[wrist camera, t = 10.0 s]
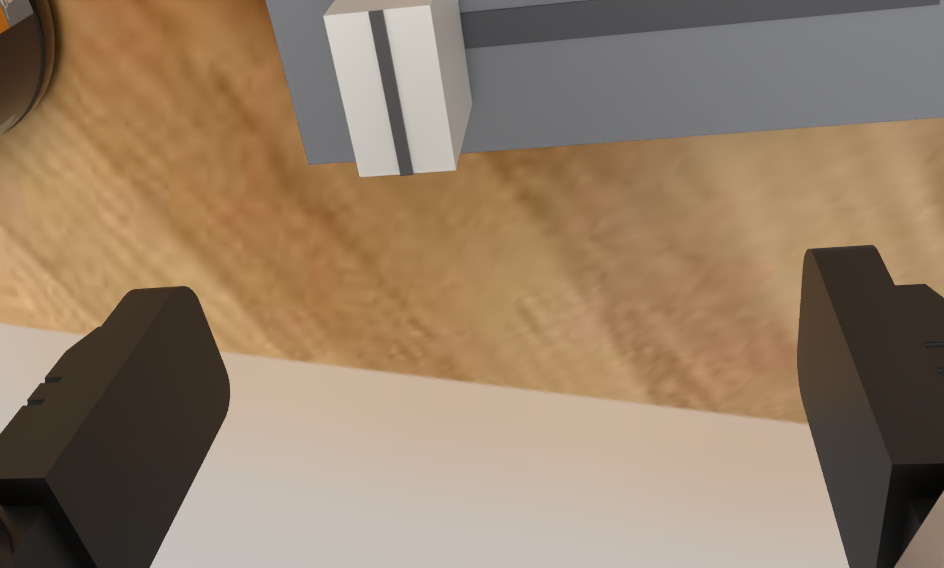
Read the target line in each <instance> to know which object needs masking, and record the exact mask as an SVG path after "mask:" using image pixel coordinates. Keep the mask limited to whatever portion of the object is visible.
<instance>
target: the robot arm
mask: <svg viewBox="0 0 944 568" xmlns="http://www.w3.org/2000/svg"><path fill="white" fill-rule="evenodd" d="M797 366H798V379H799V387H800V393H801V398H802V402H803V405H804V409H805V412H806V416H807V419H808V423H809V426H810V430H811V433H812V437H813V440H814V444H815V447H816V451H817V455H818V458H819V461H820V465H821V469H822V472H823V476H824V479H825V483H826V486H827V490H828V493H829V497H830V500H831V504H832V507H833V511H834V514H835V518H836V522H837V525H838V529H839V532H840V536H841V539H842V543H843V546H844V550H845V553H846V556H847V560H848V564H849V567H850V568H944V298H943V297H942V296H941V295H939V294H938V293H936V292H935V291H934V290H932V289H931V288H930V287H928V286H927V285H926V284H915V285H897V286H895V284H894V282H893V280H892V278H891V276H890V274H889V272H888V270H887V268H886V266H885V264H884V262H883V260H882V258H881V256H880V254H879V252H878V250H877V248H876V247H875V246H873V245H865V246H848V247H832V248H816V249H808V250H807V251H806V253H805V257H804V262H803V274H802V289H801V303H800V318H799V332H798V347H797ZM229 400H230V384H229V378H228V374H227V371H226V368H225V366H224V363H223V360H222V358H221V355H220V353H219V350H218V348H217V345H216V343H215V340H214V337H213V335H212V332H211V330H210V327H209V325H208V322H207V320H206V317H205V315H204V312H203V309H202V307H201V304H200V302H199V300H198V298H197V296H196V294H195V293H194V292H193V291H192V290H191V289H190V288H189V287H186V286H178V287H162V288H146V289H134V290H131V291H129V292H128V293H127V294H126V295H125V296H124V297H123V299H122V300H121V301H120V303H119V304H118V305H117V307H116V308H115V309H114V310H113V312H112V313H111V314H110V316H109V317H108V318H107V320H106V321H105V322H104V323H103V325H102V326H101V327H97V328H96V329H95V330H93V331H92V332H91V333H89V334H88V335H87V336H85V337H84V338H83V339H81V340H80V341H79V342H77V343H76V344H75V345H74V346H72V347H71V348H70V349H68V350H67V351H66V352H65V353H64V354H63V355H62V357H61V358H60V359H59V361H58V362H57V363H56V364H55V366H54V367H53V368H52V369H51V371H50V372H49V373H48V375H47V376H46V377H45V383H40V384H39V386H38V387H37V389H36V390H35V391H34V392H33V393H32V395H31V396H30V397H29V398H28V400H27V401H28V404H27V406H22V407H21V409H20V410H19V411H18V412H17V413H16V415H15V416H14V417H13V419H12V420H11V421H10V422H9V424H8V425H7V426H6V427H5V429H4V430H3V431H2V433H1V434H0V568H150V566H151V564H152V562H153V560H154V558H155V556H156V554H157V552H158V550H159V548H160V546H161V544H162V542H163V540H164V538H165V536H166V534H167V532H168V530H169V528H170V526H171V524H172V522H173V520H174V518H175V516H176V514H177V512H178V510H179V508H180V506H181V504H182V502H183V500H184V498H185V496H186V494H187V492H188V490H189V488H190V487H191V484H192V482H193V481H194V479H195V477H196V475H197V473H198V470H199V469H200V467H201V465H202V463H203V461H204V459H205V457H206V455H207V453H208V451H209V449H210V447H211V445H212V443H213V441H214V439H215V437H216V435H217V433H218V431H219V429H220V427H221V425H222V423H223V421H224V419H225V417H226V414H227V411H228V407H229Z"/></svg>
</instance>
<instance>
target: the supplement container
mask: <svg viewBox="0 0 944 568" xmlns="http://www.w3.org/2000/svg"><path fill="white" fill-rule="evenodd" d="M54 57H55V34H54V25H53V20H52V14H51V11H50V7H49V4H48V0H0V135H2V134H5V133H6V132H8V131H9V130H11V129H12V128H14V127H15V126H17V125H18V124H19V123H20V122H21V121H23V120H24V119H25V118H26V117H27V116H28V115H29V114H30V113H31V112H32V111H33V109H34V108H35V107H36V106H37V104H38V103H39V101H40V99H41V98H42V96H43V95H44V92H45V90H46V88H47V86H48V83H49V81H50V77H51V73H52V70H53V64H54Z"/></svg>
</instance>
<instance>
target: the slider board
mask: <svg viewBox="0 0 944 568" xmlns="http://www.w3.org/2000/svg"><path fill="white" fill-rule="evenodd" d="M334 1H335V0H266V3H267V7H268V11H269V15H270V19H271V22H272V26H273V30H274V34H275V38H276V42H277V45H278V49H279V53H280V57H281V61H282V65H283V68H284V72H285V76H286V80H287V84H288V88H289V91H290V95H291V99H292V103H293V107H294V111H295V114H296V118H297V122H298V126H299V130H300V134H301V137H302V141H303V145H304V149H305V153H306V157H307V160H308V164H309V165H313V164H326V163H340V162H353V161H356V159H355V154H354V150H353V145H352V141H351V136H350V132H349V128H348V123H347V119H346V114H345V110H344V106H343V101H342V97H341V92H340V88H339V83H338V79H337V75H336V70H335V66H334V61H333V57H332V53H331V48H330V44H329V39H328V35H327V30H326V26H325V22H324V17H323V16H324V14H325V13H326V12H327V10H328V9H329V7H330V6H331V5H332V3H333V2H334ZM458 4H459V11H460V18H461V25H462V33H463V40H464V47H465V54H466V62H467V69H468V76H469V83H470V90H471V98H472V107H471V111H470V115H469V119H468V123H467V127H466V132H465V136H464V140H463V144H462V148H461V152H460V153H474V152H487V151H500V150H514V149H527V148H541V147H554V146H567V145H581V144H594V143H608V142H621V141H634V140H648V139H661V138H675V137H688V136H701V135H715V134H728V133H742V132H755V131H768V130H782V129H795V128H808V127H822V126H835V125H849V124H862V123H875V122H889V121H902V120H916V119H929V118H942V117H944V0H458Z"/></svg>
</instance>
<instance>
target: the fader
mask: <svg viewBox="0 0 944 568" xmlns="http://www.w3.org/2000/svg"><path fill="white" fill-rule="evenodd" d="M323 17H324V22H325V26H326V30H327V35H328V39H329V44H330V48H331V53H332V57H333V61H334V66H335V70H336V75H337V79H338V83H339V88H340V92H341V97H342V101H343V106H344V110H345V114H346V119H347V123H348V128H349V132H350V136H351V141H352V145H353V150H354V154H355V159H356V163H357V167H358V172H359V176H360V177H370V176H384V175H398V174H400V176H405V175H413V174H414V173H426V172H440V171H454V170H456V168H457V164H458V160H459V156H460V152H461V148H462V144H463V140H464V136H465V132H466V127H467V123H468V119H469V115H470V111H471V107H472V98H471V90H470V83H469V76H468V69H467V62H466V54H465V47H464V40H463V33H462V25H461V18H460V11H459V4H458V0H335V1H334V2H333V3H332V5H331V6H330V7H329V9H328V10H327V12H326V13H325V14H324V16H323Z"/></svg>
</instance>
